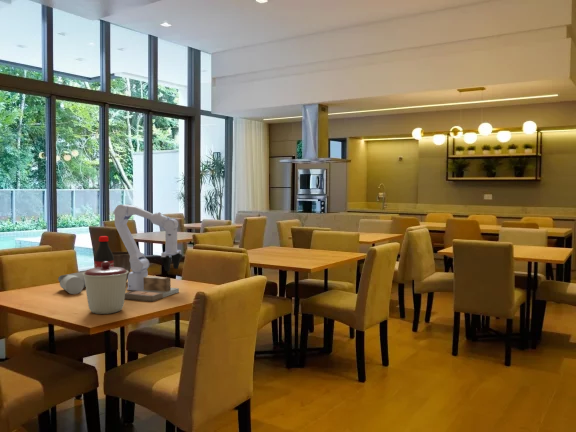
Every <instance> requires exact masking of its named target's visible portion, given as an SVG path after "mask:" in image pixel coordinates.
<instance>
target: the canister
mask: <svg viewBox="0 0 576 432" xmlns="http://www.w3.org/2000/svg"><path fill="white" fill-rule="evenodd" d="M101 266H102V267H98V268H94V267H93V268H90V269H89V268H88V269H87V270H85V271H86V272H84V273H83V276H84V278H85V286H86V288H85V292H86V299H87V304H88V309H89V311H90V312H91V313H93V314H96V315H97V314H98V315H107V314H108V315H109V314H115V313H118V312H120V311H122V309H123V308H124V306H125V305H124V304H125V300H126V299H125V293H126V290H127V282H126V280H127V281H128V279H127V274H128V272H129V271H127V270H125V269H124V268H121V267H110V263H109V262H108V261H104V262H102V263H101Z"/></svg>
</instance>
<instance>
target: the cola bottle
mask: <svg viewBox="0 0 576 432" xmlns="http://www.w3.org/2000/svg"><path fill="white" fill-rule="evenodd" d="M109 241H110V240H109V236H107V235H100V236H99V237H98V243H99V245H98V247H97V249H96V252H95V255H94V257H93V261H94V263H93V264H94V267H93V268H98V267H102V266H101V263H102V262H104V261H108V262H109V263H110V267H114V257H113V254H112V252H113V251H112V250H111V248H110V246H109Z"/></svg>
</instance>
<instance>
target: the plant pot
mask: <svg viewBox="0 0 576 432" xmlns="http://www.w3.org/2000/svg"><path fill="white" fill-rule="evenodd" d="M111 252H112V254H113V257H114V267H121V268H124V269H125V270H127V271H129V272H128V274H127V280H126V283H128V275H129V273H130V272H131V270H132V269H131V263H130V261H129V259H130V255H129V253H128V251H111Z"/></svg>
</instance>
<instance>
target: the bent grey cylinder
mask: <svg viewBox="0 0 576 432" xmlns="http://www.w3.org/2000/svg"><path fill="white" fill-rule="evenodd" d="M86 271H87V270H84V271H78V272H74V273H69V274H62V275H60V276H59V277H58V278H57V280H58V282H59V286H60V287H61V289H63V290H64V291H66V292H67V293H69V294H70V295H77V294H80V293H81V292H82V291H83V289H84V288H85V287H86V286H85V278H84V276H83V273H84V272H86ZM85 289H86V288H85Z"/></svg>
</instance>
